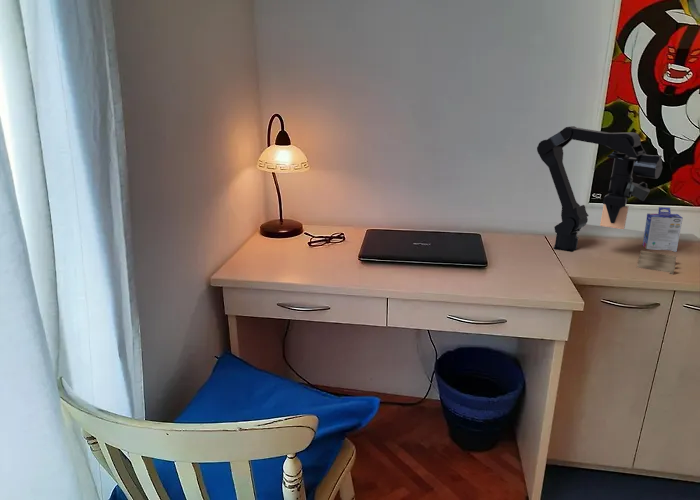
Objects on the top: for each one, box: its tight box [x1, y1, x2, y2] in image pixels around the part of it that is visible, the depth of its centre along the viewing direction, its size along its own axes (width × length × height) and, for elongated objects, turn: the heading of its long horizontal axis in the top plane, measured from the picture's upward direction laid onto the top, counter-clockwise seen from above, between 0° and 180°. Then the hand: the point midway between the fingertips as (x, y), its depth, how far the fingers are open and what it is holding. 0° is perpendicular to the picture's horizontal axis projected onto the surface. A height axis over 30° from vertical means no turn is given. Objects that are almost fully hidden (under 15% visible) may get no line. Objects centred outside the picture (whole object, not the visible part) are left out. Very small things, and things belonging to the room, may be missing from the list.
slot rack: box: [636, 250, 677, 275], centre depth 169 cm, size 10×10×3 cm
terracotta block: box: [599, 204, 630, 230], centre depth 172 cm, size 7×2×7 cm, turn 58°
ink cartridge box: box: [642, 206, 683, 253], centre depth 183 cm, size 10×6×14 cm, turn 78°
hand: (613, 221), depth 172 cm, fingers closed on terracotta block, 2 cm apart
